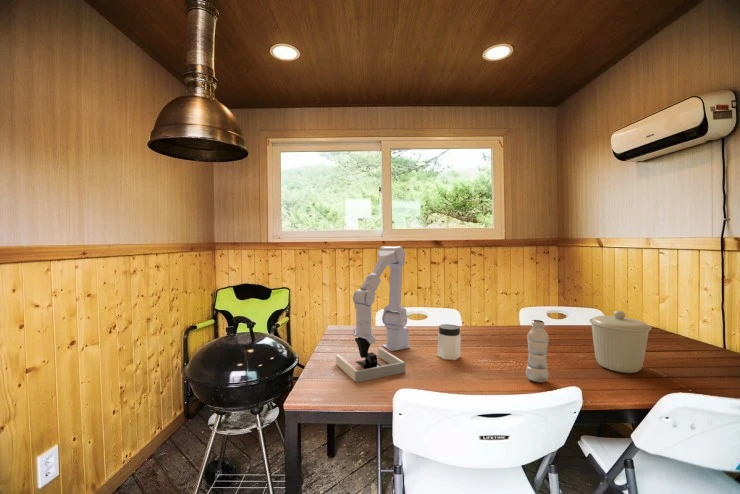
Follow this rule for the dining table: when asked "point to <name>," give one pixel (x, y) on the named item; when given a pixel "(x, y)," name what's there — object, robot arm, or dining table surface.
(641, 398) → the dining table surface
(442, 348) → the jar
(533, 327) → the plastic bottle
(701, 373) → the dining table surface
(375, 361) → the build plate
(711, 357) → the dining table surface
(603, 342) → the canister
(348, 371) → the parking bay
